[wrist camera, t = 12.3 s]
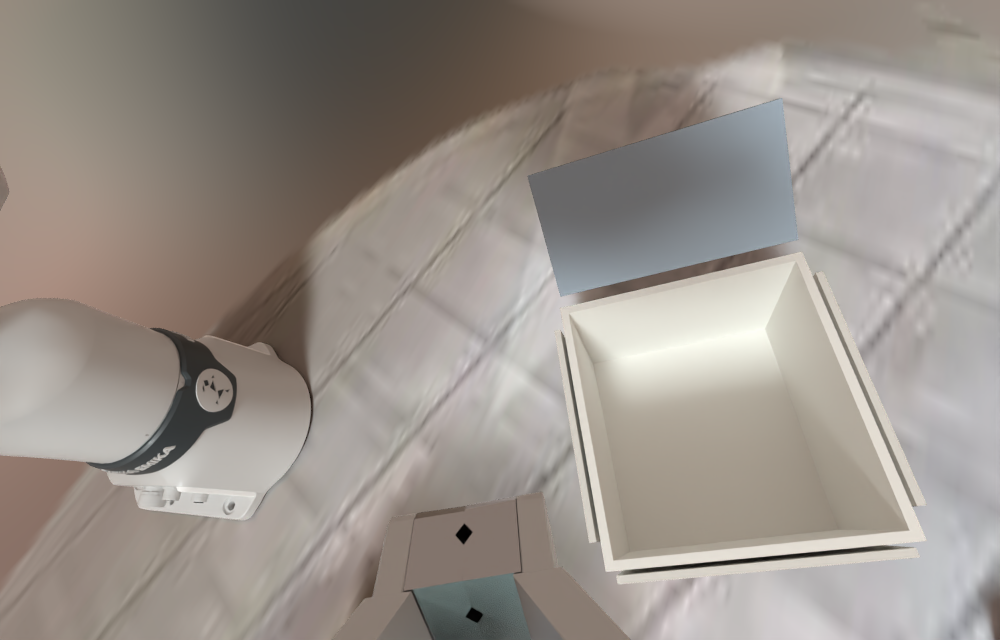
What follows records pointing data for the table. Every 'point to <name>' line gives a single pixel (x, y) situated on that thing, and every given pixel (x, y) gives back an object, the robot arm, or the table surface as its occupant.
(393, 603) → the robot arm
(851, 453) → the shipping box
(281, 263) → the table surface
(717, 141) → the flap
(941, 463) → the table surface
